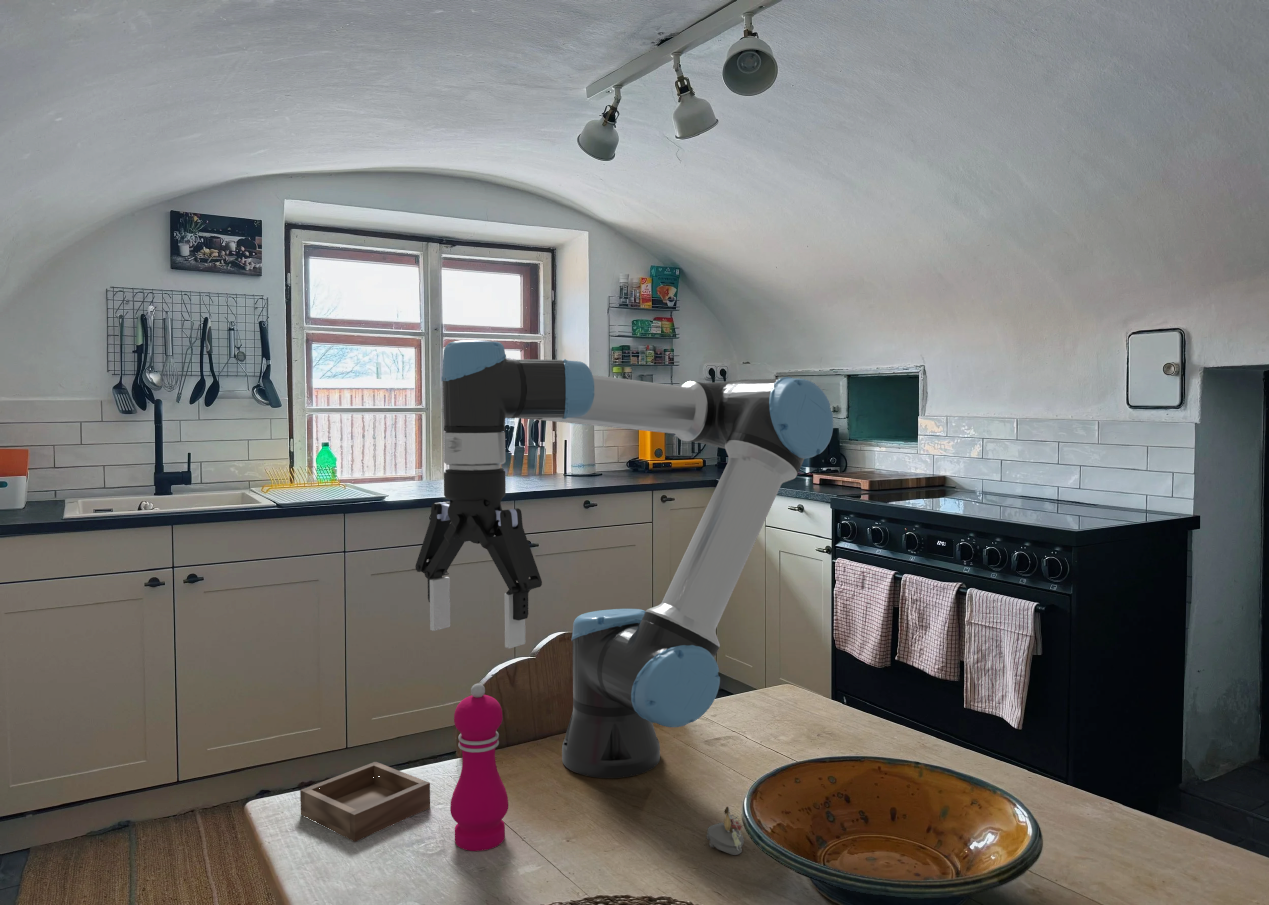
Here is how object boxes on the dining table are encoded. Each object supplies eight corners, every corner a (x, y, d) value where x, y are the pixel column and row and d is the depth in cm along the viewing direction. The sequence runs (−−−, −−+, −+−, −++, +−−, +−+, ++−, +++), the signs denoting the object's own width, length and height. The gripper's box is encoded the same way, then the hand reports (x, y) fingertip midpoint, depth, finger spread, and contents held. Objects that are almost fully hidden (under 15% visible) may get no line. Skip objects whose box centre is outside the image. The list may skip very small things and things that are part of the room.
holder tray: (430, 807, 123) (429, 782, 123) (355, 841, 113) (354, 814, 113) (375, 785, 130) (375, 761, 130) (300, 815, 121) (300, 789, 120)
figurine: (698, 842, 113) (704, 798, 112) (724, 834, 115) (730, 790, 114) (725, 866, 108) (732, 820, 107) (752, 856, 111) (759, 812, 110)
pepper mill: (497, 856, 110) (495, 694, 109) (441, 850, 111) (438, 691, 110) (516, 828, 117) (514, 676, 116) (464, 823, 118) (461, 673, 117)
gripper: (386, 464, 116) (388, 627, 117) (525, 473, 101) (527, 660, 102) (432, 461, 122) (434, 616, 123) (570, 469, 107) (571, 646, 108)
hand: (476, 637), depth 112 cm, fingers open, 13 cm apart
